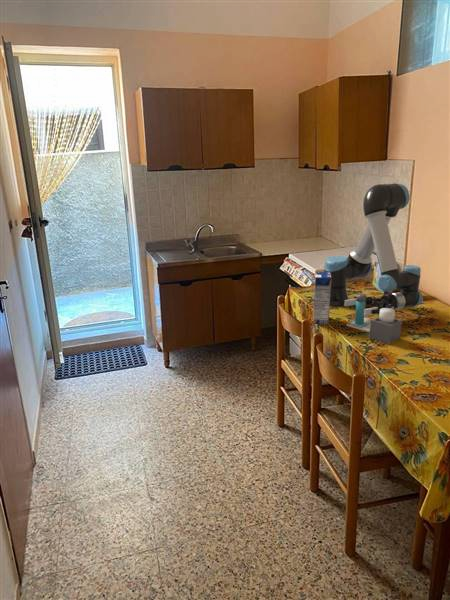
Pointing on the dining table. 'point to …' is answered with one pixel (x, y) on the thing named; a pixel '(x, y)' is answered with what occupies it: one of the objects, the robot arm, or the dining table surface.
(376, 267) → the snack box
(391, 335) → the button console
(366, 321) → the white sorting board
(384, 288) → the robot arm
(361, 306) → the marker
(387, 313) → the button
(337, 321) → the dining table surface
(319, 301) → the beverage box
